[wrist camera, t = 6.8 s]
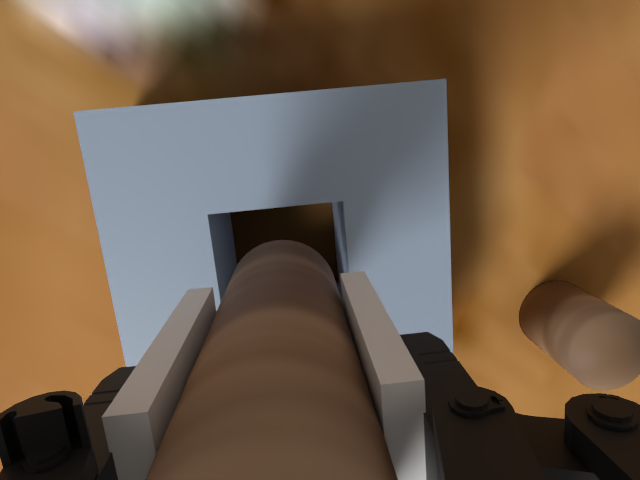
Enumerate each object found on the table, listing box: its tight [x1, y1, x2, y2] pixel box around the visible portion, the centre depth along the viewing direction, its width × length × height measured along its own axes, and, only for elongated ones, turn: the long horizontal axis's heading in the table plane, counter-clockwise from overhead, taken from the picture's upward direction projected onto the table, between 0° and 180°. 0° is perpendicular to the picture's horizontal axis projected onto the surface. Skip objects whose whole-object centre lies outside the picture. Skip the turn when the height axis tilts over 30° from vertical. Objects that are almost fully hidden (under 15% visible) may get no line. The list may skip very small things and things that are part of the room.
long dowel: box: [145, 240, 398, 480], centre depth 10 cm, size 4×4×14 cm
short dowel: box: [519, 280, 640, 391], centre depth 24 cm, size 4×4×5 cm
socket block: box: [73, 79, 453, 367], centre depth 22 cm, size 14×14×6 cm
